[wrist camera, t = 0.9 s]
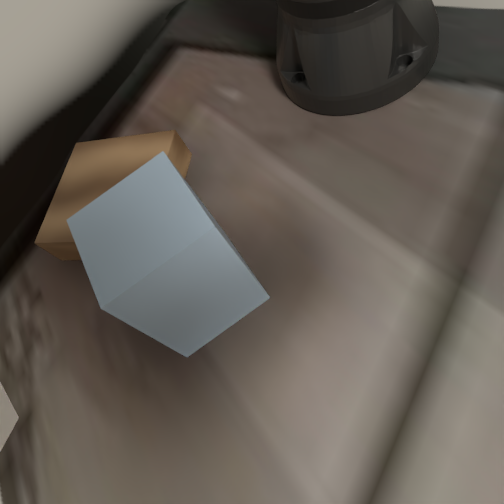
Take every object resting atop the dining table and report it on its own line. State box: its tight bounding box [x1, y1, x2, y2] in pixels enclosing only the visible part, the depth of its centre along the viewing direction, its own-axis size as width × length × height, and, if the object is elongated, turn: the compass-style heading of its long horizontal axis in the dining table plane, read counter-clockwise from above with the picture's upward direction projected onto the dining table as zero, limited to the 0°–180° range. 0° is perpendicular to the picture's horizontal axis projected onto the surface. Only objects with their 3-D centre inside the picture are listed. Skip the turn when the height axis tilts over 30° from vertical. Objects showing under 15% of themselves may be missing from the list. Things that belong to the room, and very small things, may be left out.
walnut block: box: [34, 130, 192, 260], centre depth 42 cm, size 12×12×4 cm
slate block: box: [67, 151, 270, 357], centre depth 31 cm, size 8×8×11 cm
